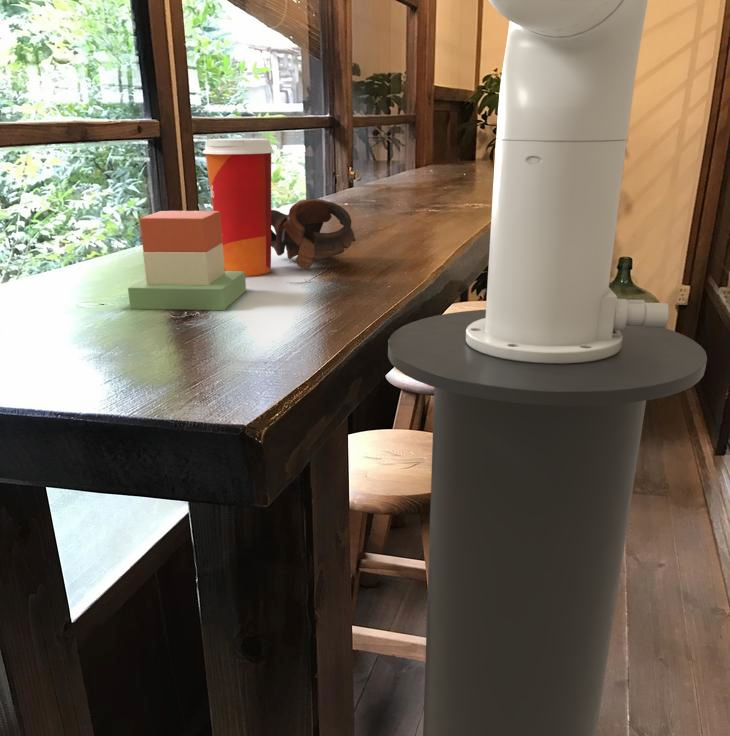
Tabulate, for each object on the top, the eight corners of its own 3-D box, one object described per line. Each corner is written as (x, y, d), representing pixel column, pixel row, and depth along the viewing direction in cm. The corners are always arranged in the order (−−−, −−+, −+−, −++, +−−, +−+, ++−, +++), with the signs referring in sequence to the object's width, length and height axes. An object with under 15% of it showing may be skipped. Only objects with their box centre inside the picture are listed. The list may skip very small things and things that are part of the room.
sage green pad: (246, 290, 83) (245, 271, 82) (224, 310, 75) (222, 288, 74) (161, 289, 84) (159, 270, 83) (130, 309, 76) (127, 287, 75)
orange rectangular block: (222, 242, 80) (220, 210, 78) (206, 252, 74) (203, 218, 73) (163, 242, 80) (160, 210, 79) (142, 251, 75) (138, 218, 73)
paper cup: (240, 263, 97) (231, 137, 91) (293, 269, 94) (287, 138, 88) (197, 274, 91) (185, 139, 85) (252, 280, 88) (243, 140, 82)
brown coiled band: (354, 259, 102) (365, 204, 96) (337, 307, 97) (348, 251, 90) (262, 233, 102) (268, 176, 96) (240, 279, 96) (244, 221, 90)
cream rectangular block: (224, 273, 81) (222, 242, 80) (208, 285, 75) (205, 252, 74) (166, 273, 81) (163, 242, 80) (146, 284, 76) (142, 252, 75)
